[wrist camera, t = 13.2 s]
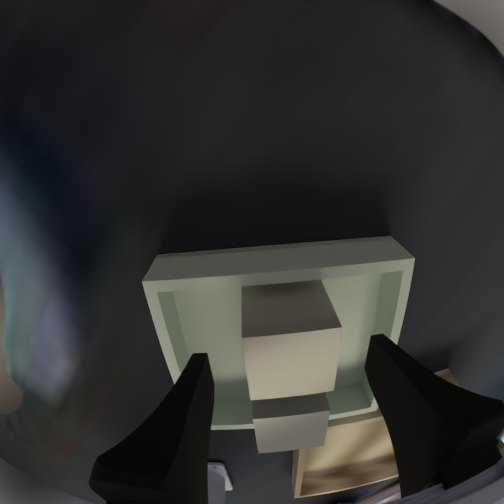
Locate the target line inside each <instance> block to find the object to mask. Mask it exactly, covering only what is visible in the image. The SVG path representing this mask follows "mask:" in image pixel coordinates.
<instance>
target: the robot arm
mask: <svg viewBox="0 0 504 504" xmlns="http://www.w3.org/2000/svg"><path fill="white" fill-rule="evenodd" d="M364 368H365V372H366V376H367V379H368V382H369V386H370V388H371V391H372V393H373V395H374V398H375V400H376V402H377V404H378V407H379V409H380V411H381V414H382V416H383V418H384V421H385V423H386V426H387V428H388V432H389V435H390V439H391V442H392V446H393V450H394V455H395V459H396V464H397V469H398V475H399V482H400V490H401V499H398V500H395V501H391V502H388V503H385V504H501V503H502V502H504V446H503V447H502V448H500V449H499V450H498V448H497V446H496V445H498V444H499V441H498V439H497V436H498V434H499V433H500V432H501V431H502V429H503V428H504V403H503V402H502V401H501V400H497V399H493V398H489V397H485V396H482V395H479V394H476V393H473V392H470V391H468V390H465V389H463V388H461V387H459V386H456V385H454V384H452V383H450V382H448V381H447V380H445V379H443V378H441V377H440V376H438V375H436V374H435V373H433V372H432V371H430V370H429V369H427V368H426V367H424V366H423V365H422V364H420V363H419V362H418V361H416V360H415V359H414V358H412V357H411V356H410V355H409V354H407V353H406V352H405V351H404V350H402V349H401V348H400V347H399V346H398V345H396V344H395V343H394V342H393V341H392V340H391V339H389V338H388V337H387V336H386V335H384V334H383V333H382V334H376V335H371V337H370V342H369V347H368V352H367V357H366V362H365V366H364ZM214 387H215V384H214V380H213V375H212V371H211V367H210V363H209V358H208V354H207V353H193V354H192V355H191V357H190V359H189V361H188V363H187V364H186V366H185V368H184V370H183V371H182V373H181V375H180V376H179V378H178V379H177V381H176V383H175V384H174V386H173V387H172V389H171V390H170V392H169V393H168V394H167V396H166V397H165V398H164V400H163V401H162V402H161V404H160V405H159V406H158V407H157V408H156V410H155V411H154V412H153V413H152V414H151V415H150V416H149V417H148V418H147V419H146V420H145V421H144V422H143V423H142V424H141V425H140V426H139V427H138V428H137V429H136V430H135V431H134V432H133V433H131V434H130V435H129V436H128V437H126V438H125V439H124V440H123V441H121V442H120V443H119V444H117V445H116V446H114V447H113V448H111V449H110V450H108V451H106V452H105V453H103V454H101V455H100V456H98V457H97V459H96V461H95V463H94V466H93V469H92V472H91V476H90V479H89V486H90V487H91V489H92V490H93V491H94V492H96V493H97V494H98V495H99V496H100V497H102V498H103V499H104V500H105V501H107V503H106V504H225V490H233V486H232V484H231V481H230V478H229V476H228V473H227V471H226V468H225V465H224V464H223V463H219V462H208V446H209V438H210V431H211V424H212V417H213V409H214ZM73 504H95V503H91V502H88V501H84V500H81V499H77V498H76V499H75V500H74V503H73Z"/></svg>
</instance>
